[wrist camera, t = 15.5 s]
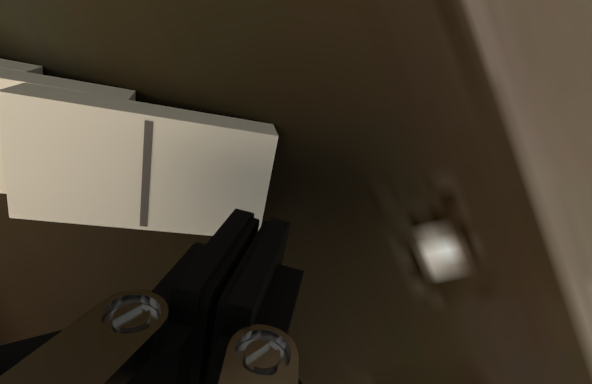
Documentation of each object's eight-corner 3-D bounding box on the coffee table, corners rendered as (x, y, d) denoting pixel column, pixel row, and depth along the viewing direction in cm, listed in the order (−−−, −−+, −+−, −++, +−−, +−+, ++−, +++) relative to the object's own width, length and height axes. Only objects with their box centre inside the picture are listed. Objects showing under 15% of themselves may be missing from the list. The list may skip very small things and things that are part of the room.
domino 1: (128, 99, 15) (-192, 46, 12) (124, 203, 17) (-155, 181, 14) (135, 90, 17) (-144, 43, 14) (131, 186, 19) (-116, 162, 16)
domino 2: (278, 136, 15) (-6, 91, 12) (258, 240, 17) (8, 218, 14) (273, 123, 17) (25, 82, 14) (255, 218, 18) (34, 195, 16)
